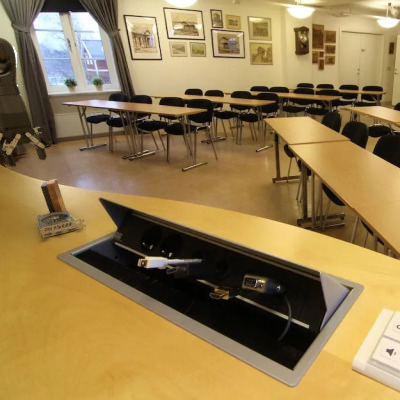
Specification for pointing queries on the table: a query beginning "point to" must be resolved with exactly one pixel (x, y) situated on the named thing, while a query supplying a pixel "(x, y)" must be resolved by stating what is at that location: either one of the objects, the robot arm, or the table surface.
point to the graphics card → (58, 223)
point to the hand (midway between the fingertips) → (28, 162)
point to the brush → (53, 196)
